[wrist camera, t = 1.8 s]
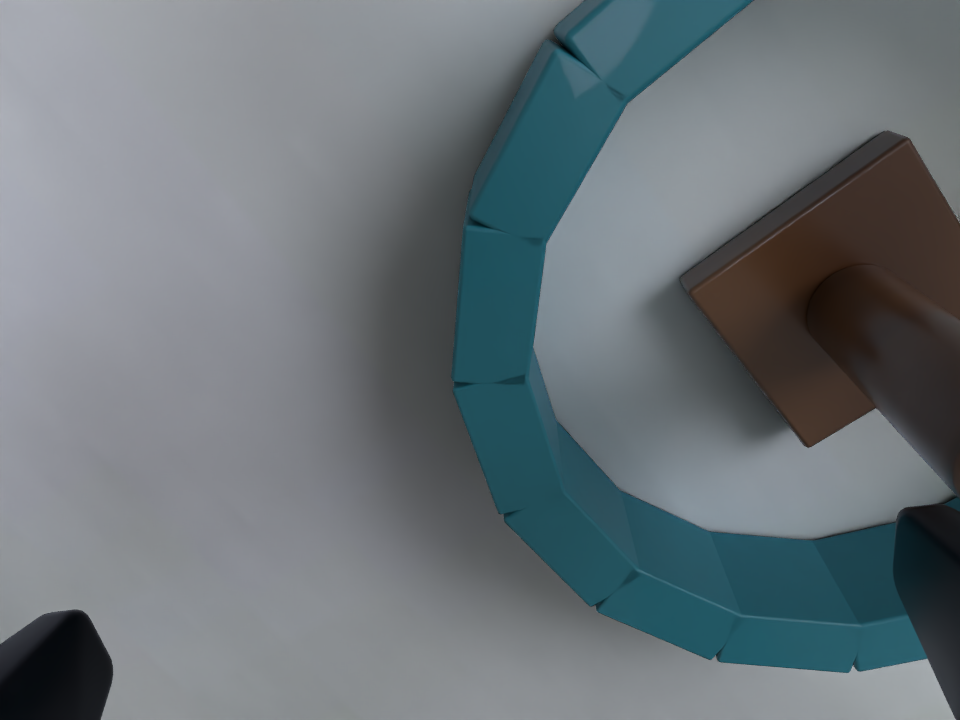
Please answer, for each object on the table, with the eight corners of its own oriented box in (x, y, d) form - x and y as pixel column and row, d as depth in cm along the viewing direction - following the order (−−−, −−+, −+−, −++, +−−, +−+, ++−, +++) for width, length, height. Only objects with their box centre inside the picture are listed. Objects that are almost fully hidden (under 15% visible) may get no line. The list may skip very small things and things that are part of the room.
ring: (718, 671, 17) (748, 766, 15) (308, 243, 13) (270, 291, 11) (1352, 338, 14) (1514, 403, 11) (1053, -415, 9) (1218, -538, 7)
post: (792, 428, 15) (942, 649, 10) (676, 277, 13) (780, 442, 8) (992, 305, 13) (1280, 486, 8) (885, 126, 12) (1149, 216, 7)
